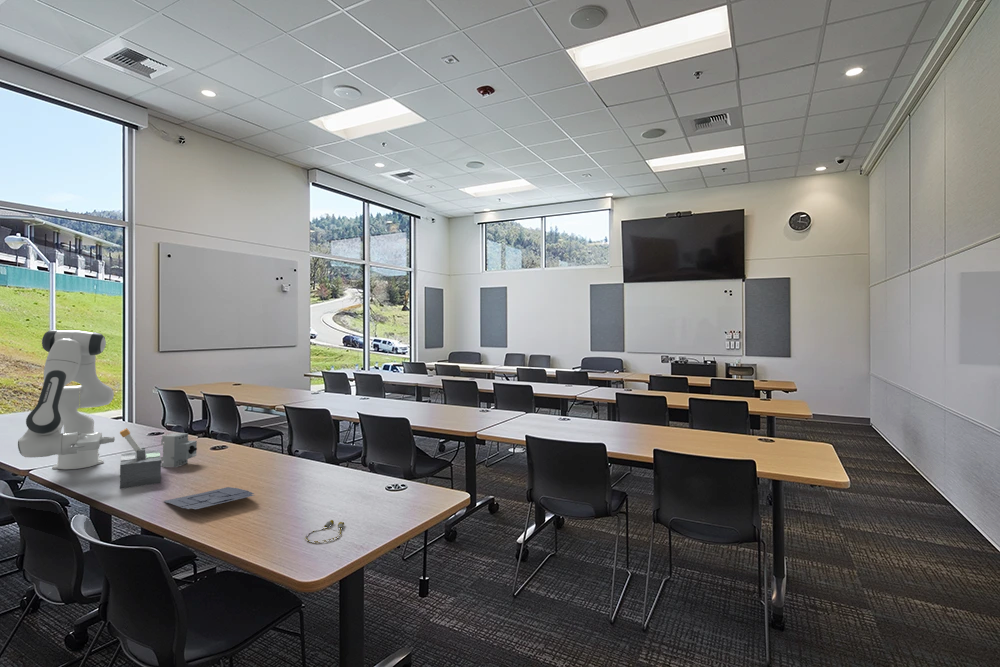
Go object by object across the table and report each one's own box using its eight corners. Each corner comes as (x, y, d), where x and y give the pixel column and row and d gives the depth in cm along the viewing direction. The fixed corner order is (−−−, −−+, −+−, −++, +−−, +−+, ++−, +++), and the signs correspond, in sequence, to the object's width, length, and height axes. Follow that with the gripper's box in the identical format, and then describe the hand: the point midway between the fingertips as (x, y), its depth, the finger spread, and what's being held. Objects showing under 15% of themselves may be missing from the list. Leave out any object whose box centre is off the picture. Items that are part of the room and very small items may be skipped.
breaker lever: (139, 456, 218) (119, 431, 214) (145, 452, 219) (126, 428, 215) (139, 458, 215) (119, 433, 211) (145, 454, 217) (126, 429, 213)
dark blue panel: (189, 518, 170) (189, 508, 171) (162, 508, 190) (162, 498, 190) (260, 501, 189) (260, 491, 189) (229, 493, 208) (229, 484, 208)
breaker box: (121, 475, 222) (121, 446, 222) (158, 471, 230) (159, 442, 230) (119, 488, 204) (120, 456, 204) (160, 483, 212) (161, 452, 212)
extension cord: (358, 531, 167) (358, 525, 167) (320, 548, 153) (320, 542, 153) (333, 523, 173) (333, 517, 173) (294, 539, 159) (295, 533, 159)
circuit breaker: (189, 467, 237) (190, 436, 237) (160, 466, 237) (161, 435, 237) (199, 463, 244) (200, 433, 244) (171, 462, 245) (172, 432, 245)
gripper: (69, 440, 195) (113, 436, 203) (74, 431, 211) (115, 428, 219) (69, 456, 195) (113, 451, 203) (74, 446, 211) (115, 442, 219)
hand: (114, 439), depth 211 cm, fingers closed
